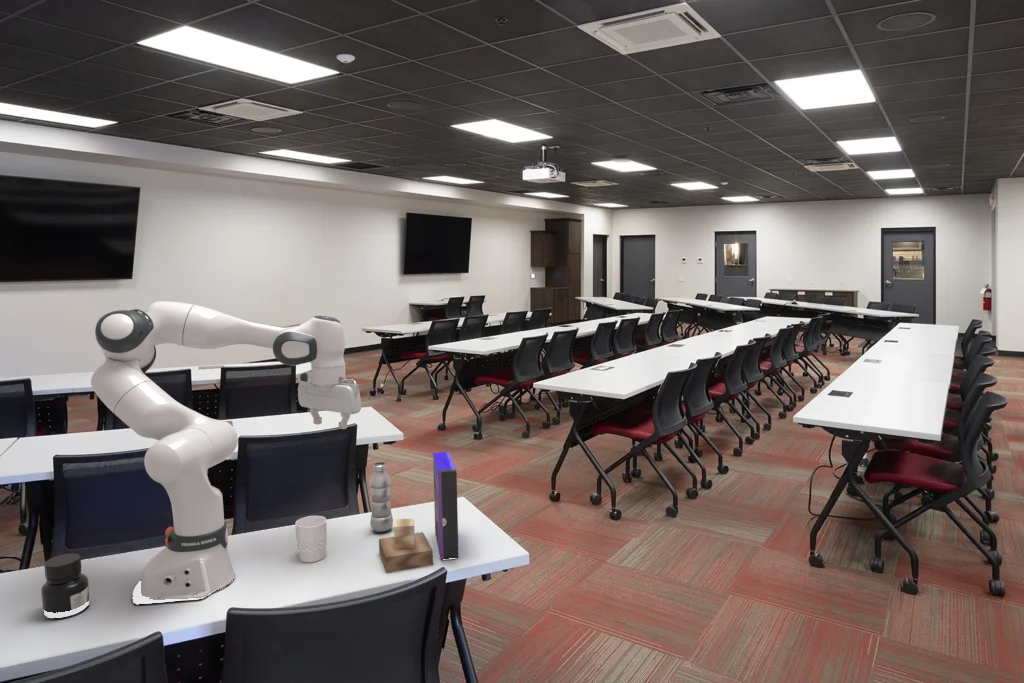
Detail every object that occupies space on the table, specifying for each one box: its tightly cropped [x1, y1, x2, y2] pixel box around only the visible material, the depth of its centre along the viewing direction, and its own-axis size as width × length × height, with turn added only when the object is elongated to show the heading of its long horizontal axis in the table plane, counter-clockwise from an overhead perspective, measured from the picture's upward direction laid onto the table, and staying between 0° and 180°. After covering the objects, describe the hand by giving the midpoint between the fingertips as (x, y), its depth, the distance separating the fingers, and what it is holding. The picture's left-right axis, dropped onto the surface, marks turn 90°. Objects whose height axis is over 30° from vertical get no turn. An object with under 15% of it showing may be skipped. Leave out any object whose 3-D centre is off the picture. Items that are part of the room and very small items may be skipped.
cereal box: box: [432, 451, 460, 561], centre depth 181 cm, size 17×5×24 cm, turn 11°
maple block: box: [393, 517, 416, 549], centre depth 173 cm, size 5×5×6 cm
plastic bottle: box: [368, 461, 394, 533], centre depth 192 cm, size 6×7×20 cm
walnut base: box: [378, 531, 434, 573], centre depth 174 cm, size 12×12×4 cm
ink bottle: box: [41, 553, 91, 613], centre depth 150 cm, size 10×9×12 cm
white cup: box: [294, 515, 327, 563], centre depth 176 cm, size 8×8×10 cm
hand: (330, 426), depth 180 cm, fingers open, 8 cm apart
